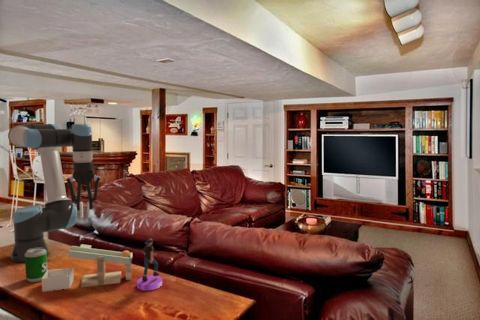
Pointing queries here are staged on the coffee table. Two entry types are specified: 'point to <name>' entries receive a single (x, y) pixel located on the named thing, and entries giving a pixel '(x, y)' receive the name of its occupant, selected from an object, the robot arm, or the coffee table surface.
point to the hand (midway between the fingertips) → (85, 217)
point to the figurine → (150, 280)
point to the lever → (98, 254)
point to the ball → (125, 254)
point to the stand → (104, 275)
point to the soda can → (35, 264)
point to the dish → (57, 279)
